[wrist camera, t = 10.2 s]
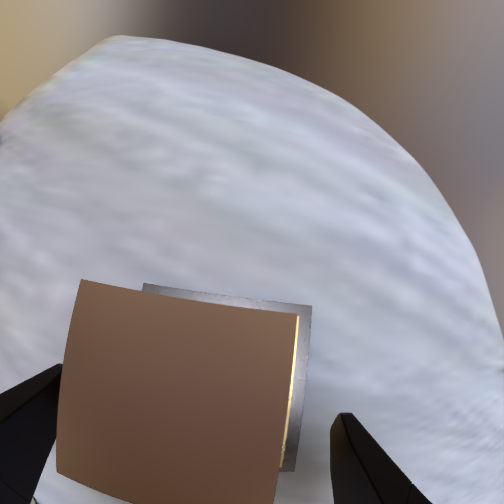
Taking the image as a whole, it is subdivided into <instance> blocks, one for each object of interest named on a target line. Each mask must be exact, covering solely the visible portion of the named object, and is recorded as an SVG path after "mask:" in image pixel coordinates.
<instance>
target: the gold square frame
mask: <svg viewBox="0 0 504 504" xmlns="http://www.w3.org/2000/svg"><path fill="white" fill-rule="evenodd" d="M142 291H143V292H148V293H154V294H160V295H165V296H171V297H177V298H183V299H190V300H196V301H202V302H209V303H216V304H223V305H230V306H237V307H245V308H252V309H260V310H269V311H277V312H286V313H295V314H297V324H296V336H295V347H294V357H293V366H292V376H291V385H290V393H289V402H288V410H287V417H286V425H285V432H284V439H283V446H282V453H281V460H280V466H279V471H291V472H294V469H295V462H296V456H297V449H298V443H299V435H300V428H301V421H302V413H303V404H304V396H305V386H306V377H307V366H308V355H309V343H310V330H311V316H312V306H309V305H299V304H290V303H281V302H272V301H264V300H256V299H248V298H240V297H232V296H225V295H218V294H211V293H204V292H197V291H190V290H184V289H177V288H171V287H165V286H159V285H153V284H147V283H144V284H143V288H142Z"/></svg>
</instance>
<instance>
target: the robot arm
mask: <svg viewBox="0 0 504 504" xmlns="http://www.w3.org/2000/svg"><path fill="white" fill-rule="evenodd" d="M62 368H63V364H60V363H59V364H56V365H54V366H53V367H51V368H49V369H47V370H45V371H43V372H41V373H39V374H37V375H35V376H34V377H32V378H30V379H28V380H26V381H24V382H22V383H20V384H18V385H16V386H14V387H13V388H11V389H9V390H7V391H5V392H3V393H1V394H0V504H31V501H32V498H33V495H34V492H35V490H36V487H37V484H38V481H39V479H40V476H41V473H42V471H43V468H44V466H45V463H46V461H47V458H48V456H49V453H50V451H51V449H52V446H53V444H54V442H55V439H56V437H57V416H58V402H59V392H60V383H61V375H62ZM330 471H331V480H332V489H333V497H334V504H432V503H431V502H430V501H429V500H428V499H427V498H426V497H425V496H424V495H423V494H422V493H421V492H420V491H419V490H418V489H417V487H416V486H415V485H414V484H412V482H411V481H410V480H409V479H408V477H407V476H406V475H405V474H404V473H403V472H402V471H401V470H400V468H399V467H398V466H397V465H396V464H395V463H394V462H393V460H392V459H391V458H390V457H389V456H388V455H387V453H386V452H385V451H384V450H383V449H382V448H381V447H380V445H379V444H378V443H377V442H376V441H375V440H374V438H373V437H372V436H371V435H370V434H369V433H368V431H367V430H366V429H365V428H364V427H363V425H362V424H361V423H360V422H359V421H358V420H357V418H356V417H355V416H354V415H353V414H352V413H339V414H338V415H337V417H336V419H335V421H334V423H333V424H332V426H331V429H330Z"/></svg>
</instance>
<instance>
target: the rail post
mask: <svg viewBox="0 0 504 504" xmlns="http://www.w3.org/2000/svg"><path fill="white" fill-rule="evenodd" d="M296 324H297V314H295V313H286V312H277V311H269V310H260V309H252V308H245V307H237V306H230V305H223V304H216V303H209V302H202V301H196V300H190V299H183V298H177V297H171V296H165V295H160V294H154V293H148V292H143V291H137V290H132V289H127V288H122V287H117V286H112V285H107V284H102V283H97V282H93V281H88V280H83V279H81V282H80V285H79V289H78V293H77V297H76V301H75V305H74V309H73V314H72V318H71V323H70V328H69V333H68V338H67V343H66V349H65V355H64V361H63V368H62V375H61V383H60V392H59V402H58V416H57V437H56V468H57V473H59V474H61V475H63V476H65V477H67V478H70V479H72V480H74V481H76V482H78V483H80V484H83V485H85V486H87V487H89V488H92V489H94V490H97V491H99V492H102V493H104V494H107V495H110V496H112V497H115V498H118V499H121V500H124V501H127V502H130V503H133V504H273V501H274V496H275V490H276V484H277V478H278V472H279V466H280V460H281V453H282V446H283V439H284V432H285V425H286V417H287V410H288V402H289V393H290V385H291V376H292V366H293V357H294V347H295V336H296Z"/></svg>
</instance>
